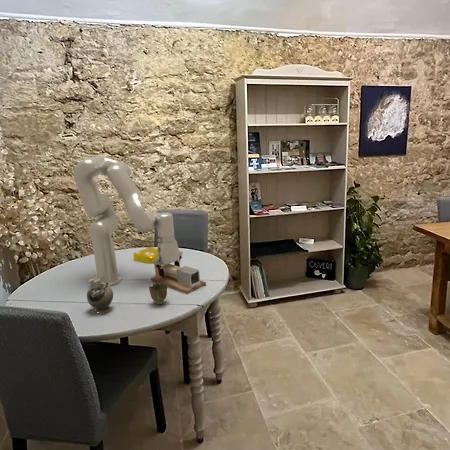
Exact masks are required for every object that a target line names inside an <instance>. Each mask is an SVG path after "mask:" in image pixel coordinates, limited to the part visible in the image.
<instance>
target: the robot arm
mask: <svg viewBox="0 0 450 450" xmlns="http://www.w3.org/2000/svg"><path fill="white" fill-rule="evenodd" d="M131 170H132V169H131V168H130V166H129V165H128V164H126V163H125V162H122V161H120V160H119V161H118V160H114V159H111V158H108V157H104V156H98V155H96V156H91V157H86V158H83V159H82V160H80V161H79V162H78V163H77V164H76V165H75V167H74V169H73V179H74V183H75V186H76V188H77V191H78V194H79V197H80V200H81V203H82V206H83V209H84V212H85V214H86V215H87V217H90V218H96V219H95V220H93V221H92V222H91V224H90V225H89V228H88V235H89V237H90V240H91V243H92V248H93V249H92V250H93V255H94V256H93V257H94V263H95V271H96V274H95V275H94V277H93V278H89V279H87V282H88V284H90V285H91V284H92V282H93V283H95V284H97V283H105V284H106V283H108V285H109V286H110V287H111V286H115V285H118V284H119V283H120V282H121V281H122V278H123V277H122V276H121V275H119V274H118V268H117V267H118V265H117V259H116V251H115V244H114V242H113V241H114V240H113V238H112V234H113V233H114V232H115V231H116V230H117V229H118V226H119V223H118V218H117V216H116V213H115V208H114V206H113V203H112V201H111V199H110V197H108V195H106V194H104V193H100V192H99V189H98V186H97V184H96V181H95V180H94V177H97V176H99V175H102V176H106V177H107V178H108V180H109V182H110V183H111V185H112V187H114V189H115V190H116V192H117V193H118V194H119V197H120V198H121V199H122V200H123V204H124V207H125V209H126V213H127V215H128V216H129V218H130V220H131V222H132V223H133V224H134V225H135V227H136V229H137V230H139V231H140V232H142V233H150V232H151V231H152V230H153V229H155V228H157V237H158V238H157V239H156V242H158V243H157V247H156V248H157V256H158V257H157V258H156V259H155V260H154V261H153V265H155V266H156V267H157V268H158V271H159V276H161V277H164V269H162V268H163V266H164V265H166V264H169V263H170V264H172V263H174V264H173V265H175V266H178V267H181V264H180V263H181V260H182V259H183V257H182V256H183V255H184V254H183V253H184V252H183V251H181V250H180V249H179V244H178V241H177V239H175V238H176V237H175V229H174V227H175V226H174V217H173V216H174V215H173V213H172V212H168V211H167V212H155V211H148V212H146V211H145V210H144V208H143V206H142V202H141V193H140V189H139V188H138V186H137V185H136V184H135V182H134V180H132V179H133V178H131V176H132V175H131V174H132V171H131ZM157 262H159V264H158V263H157ZM160 265H161V266H160ZM155 266H154V267H155Z"/></svg>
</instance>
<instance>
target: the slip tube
mask: <svg viewBox="0 0 450 450" xmlns="http://www.w3.org/2000/svg"><path fill="white" fill-rule="evenodd" d="M182 267H183V266H182ZM182 267H181V266H180V267H178V266H175V265H174V264H172V263H170V264H166V265H164V266H163V268H162V269H164V274H165V275H168V276H171V277H174V278H177V271H176V270H177V269H179V268H182Z"/></svg>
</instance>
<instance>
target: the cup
mask: <svg viewBox="0 0 450 450" xmlns="http://www.w3.org/2000/svg"><path fill="white" fill-rule="evenodd" d="M148 289H149V294H150V297H151V298H150V299H152V300H153V302H154V303H155V305H157V306H161V305H163V304H164V303H165V300H166V299H167V295H168V287H167V284H165V283H162V284H161V283H160V284H158V283H152V286H151V285H149V287H148Z"/></svg>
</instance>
